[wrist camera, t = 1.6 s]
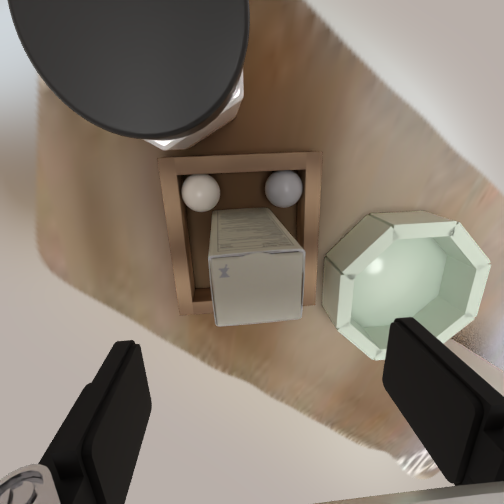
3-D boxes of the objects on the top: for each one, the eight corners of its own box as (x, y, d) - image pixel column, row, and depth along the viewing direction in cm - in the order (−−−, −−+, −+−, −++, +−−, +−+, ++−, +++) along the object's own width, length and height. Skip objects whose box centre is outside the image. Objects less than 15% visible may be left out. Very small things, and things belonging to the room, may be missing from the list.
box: (215, 255, 26) (209, 329, 15) (211, 208, 24) (201, 255, 14) (272, 252, 26) (304, 321, 16) (272, 206, 25) (307, 249, 14)
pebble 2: (262, 168, 23) (267, 171, 21) (298, 167, 24) (307, 169, 21) (263, 204, 24) (268, 212, 22) (297, 202, 25) (306, 210, 22)
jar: (262, 63, 21) (304, -34, 10) (212, 165, 23) (201, 182, 12) (144, -16, 19) (25, -259, 8) (102, 104, 21) (-40, 54, 10)
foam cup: (452, 394, 35) (575, 528, 22) (383, 389, 33) (473, 528, 21) (487, 328, 32) (651, 442, 19) (412, 320, 30) (537, 437, 18)
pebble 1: (181, 172, 23) (176, 175, 20) (218, 170, 23) (218, 173, 20) (185, 208, 24) (181, 217, 21) (221, 206, 24) (222, 214, 22)
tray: (164, 157, 22) (157, 158, 20) (312, 151, 23) (322, 151, 21) (183, 301, 27) (179, 315, 25) (307, 291, 28) (315, 304, 26)
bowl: (326, 216, 25) (344, 227, 22) (464, 208, 26) (504, 218, 23) (319, 337, 30) (333, 364, 26) (437, 327, 31) (466, 351, 27)
